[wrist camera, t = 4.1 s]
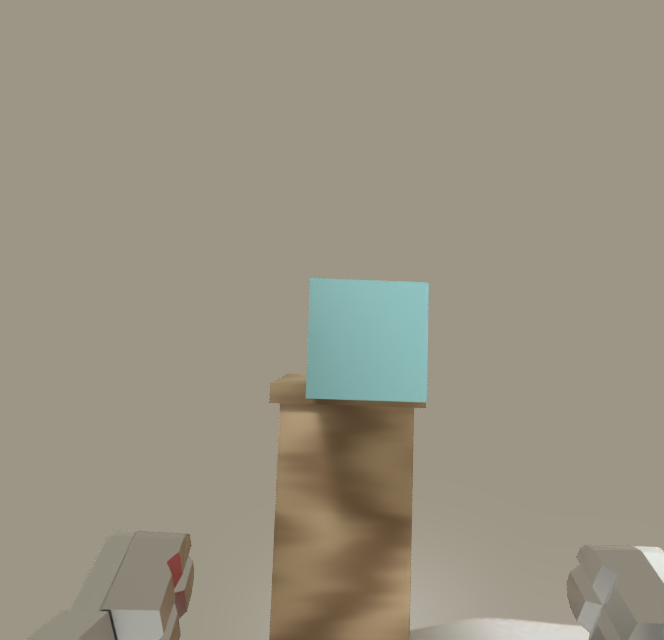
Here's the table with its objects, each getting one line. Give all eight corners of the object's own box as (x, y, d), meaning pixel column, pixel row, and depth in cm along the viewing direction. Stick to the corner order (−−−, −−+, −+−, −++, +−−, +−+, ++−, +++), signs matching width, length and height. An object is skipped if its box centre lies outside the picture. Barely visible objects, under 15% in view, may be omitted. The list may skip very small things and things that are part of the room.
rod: (305, 398, 15) (310, 277, 16) (312, 375, 37) (314, 325, 37) (426, 402, 15) (428, 282, 16) (361, 376, 37) (363, 327, 38)
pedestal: (231, 964, 21) (259, 383, 23) (266, 711, 36) (281, 373, 38) (429, 963, 21) (438, 389, 23) (382, 713, 36) (390, 377, 38)
